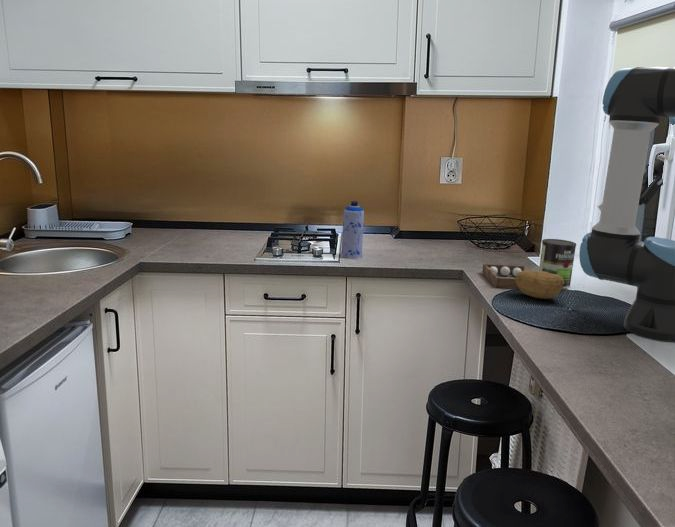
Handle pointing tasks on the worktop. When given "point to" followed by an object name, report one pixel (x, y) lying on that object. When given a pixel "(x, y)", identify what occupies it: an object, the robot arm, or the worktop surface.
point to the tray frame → (501, 281)
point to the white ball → (516, 271)
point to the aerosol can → (352, 231)
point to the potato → (539, 284)
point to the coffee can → (558, 258)
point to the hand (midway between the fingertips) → (608, 213)
